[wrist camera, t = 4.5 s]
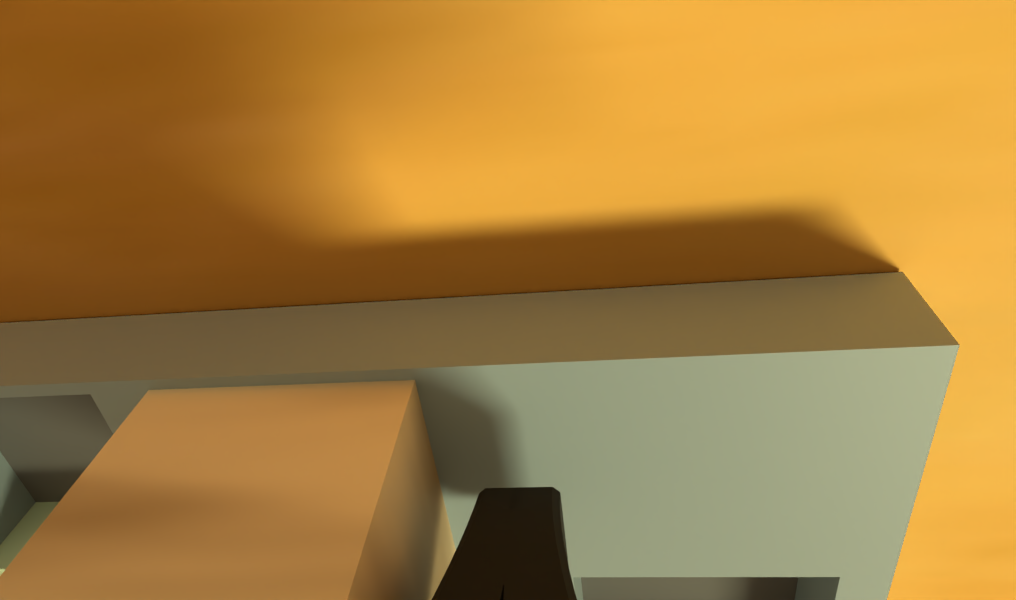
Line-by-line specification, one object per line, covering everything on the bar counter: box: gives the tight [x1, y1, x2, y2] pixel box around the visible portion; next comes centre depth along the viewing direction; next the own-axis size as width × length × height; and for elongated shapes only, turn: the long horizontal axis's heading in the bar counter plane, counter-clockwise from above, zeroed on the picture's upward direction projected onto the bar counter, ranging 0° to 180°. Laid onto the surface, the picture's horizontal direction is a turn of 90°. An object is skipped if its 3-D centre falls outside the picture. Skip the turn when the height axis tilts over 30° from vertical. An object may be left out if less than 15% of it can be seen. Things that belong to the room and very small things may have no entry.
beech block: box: [0, 380, 456, 600], centre depth 10 cm, size 4×4×4 cm
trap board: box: [0, 272, 959, 600], centre depth 13 cm, size 10×21×4 cm, turn 97°
